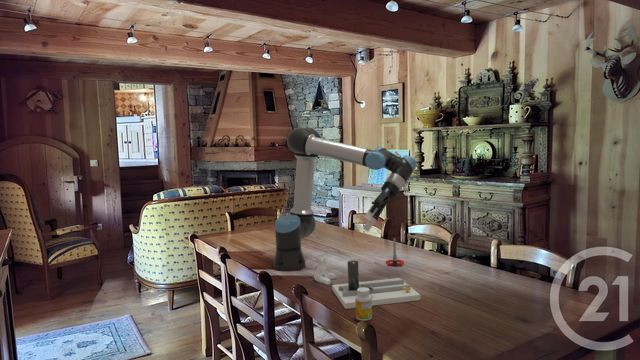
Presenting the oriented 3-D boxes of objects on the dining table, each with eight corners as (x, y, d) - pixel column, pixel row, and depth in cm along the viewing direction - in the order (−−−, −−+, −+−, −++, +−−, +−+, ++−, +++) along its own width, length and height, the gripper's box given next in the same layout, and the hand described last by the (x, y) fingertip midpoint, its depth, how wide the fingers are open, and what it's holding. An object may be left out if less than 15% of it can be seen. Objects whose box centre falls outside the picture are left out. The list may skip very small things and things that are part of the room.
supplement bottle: (354, 315, 148) (353, 287, 148) (370, 314, 149) (369, 286, 148) (357, 321, 143) (356, 292, 142) (373, 320, 144) (372, 291, 143)
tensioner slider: (348, 300, 157) (347, 268, 156) (341, 290, 166) (340, 261, 165) (378, 296, 159) (377, 265, 158) (369, 287, 168) (369, 258, 167)
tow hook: (385, 261, 211) (385, 266, 202) (385, 234, 211) (385, 238, 201) (403, 261, 210) (404, 266, 201) (403, 235, 209) (403, 238, 200)
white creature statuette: (329, 285, 179) (328, 256, 178) (309, 283, 182) (308, 255, 181) (336, 278, 188) (335, 250, 187) (317, 276, 191) (316, 249, 190)
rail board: (345, 308, 154) (345, 298, 154) (332, 289, 174) (332, 280, 173) (420, 300, 160) (420, 289, 159) (399, 282, 179) (399, 273, 179)
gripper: (403, 178, 179) (375, 219, 173) (397, 201, 202) (372, 238, 195) (387, 169, 181) (359, 209, 175) (383, 193, 204) (358, 229, 198)
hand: (366, 224), depth 185 cm, fingers open, 13 cm apart
